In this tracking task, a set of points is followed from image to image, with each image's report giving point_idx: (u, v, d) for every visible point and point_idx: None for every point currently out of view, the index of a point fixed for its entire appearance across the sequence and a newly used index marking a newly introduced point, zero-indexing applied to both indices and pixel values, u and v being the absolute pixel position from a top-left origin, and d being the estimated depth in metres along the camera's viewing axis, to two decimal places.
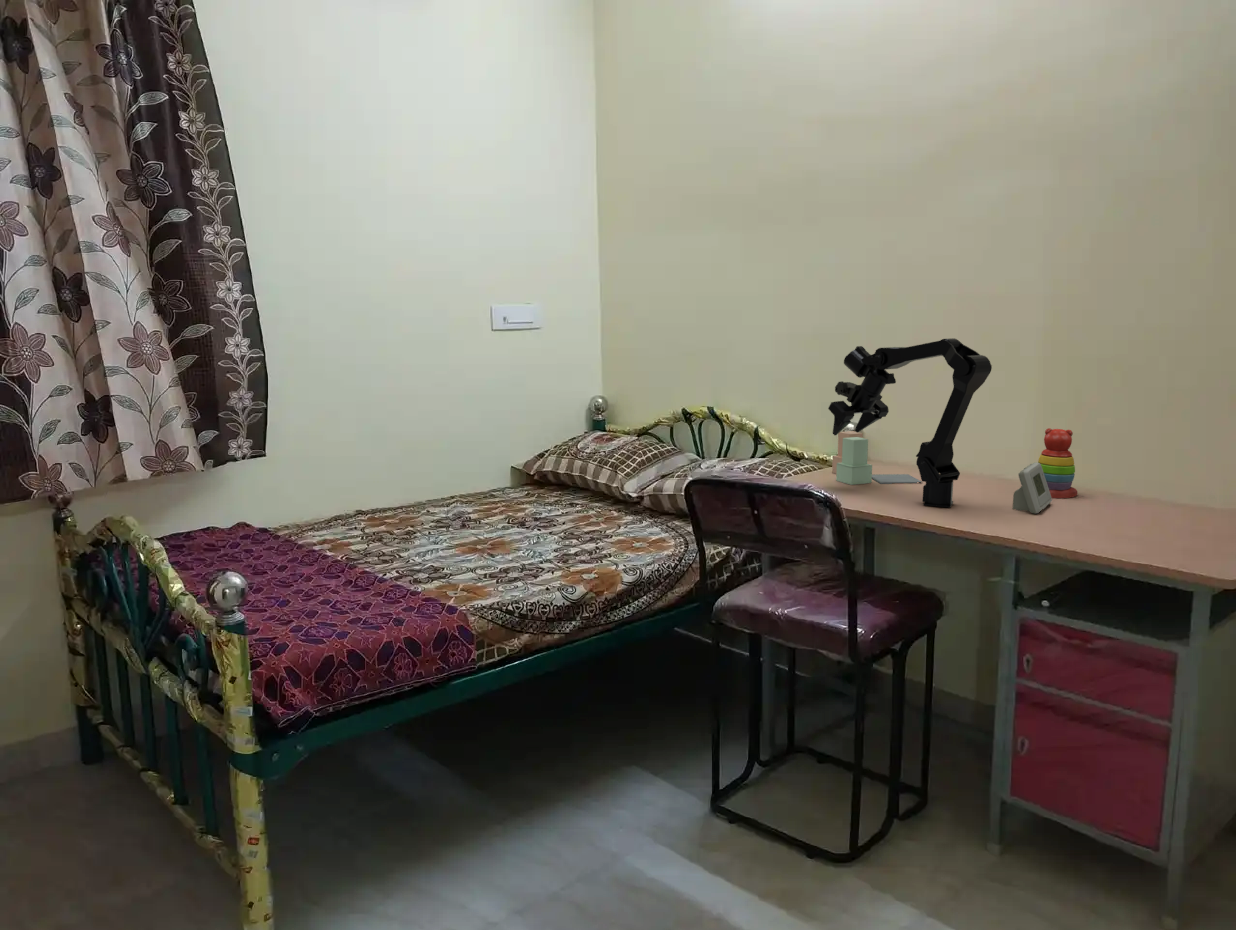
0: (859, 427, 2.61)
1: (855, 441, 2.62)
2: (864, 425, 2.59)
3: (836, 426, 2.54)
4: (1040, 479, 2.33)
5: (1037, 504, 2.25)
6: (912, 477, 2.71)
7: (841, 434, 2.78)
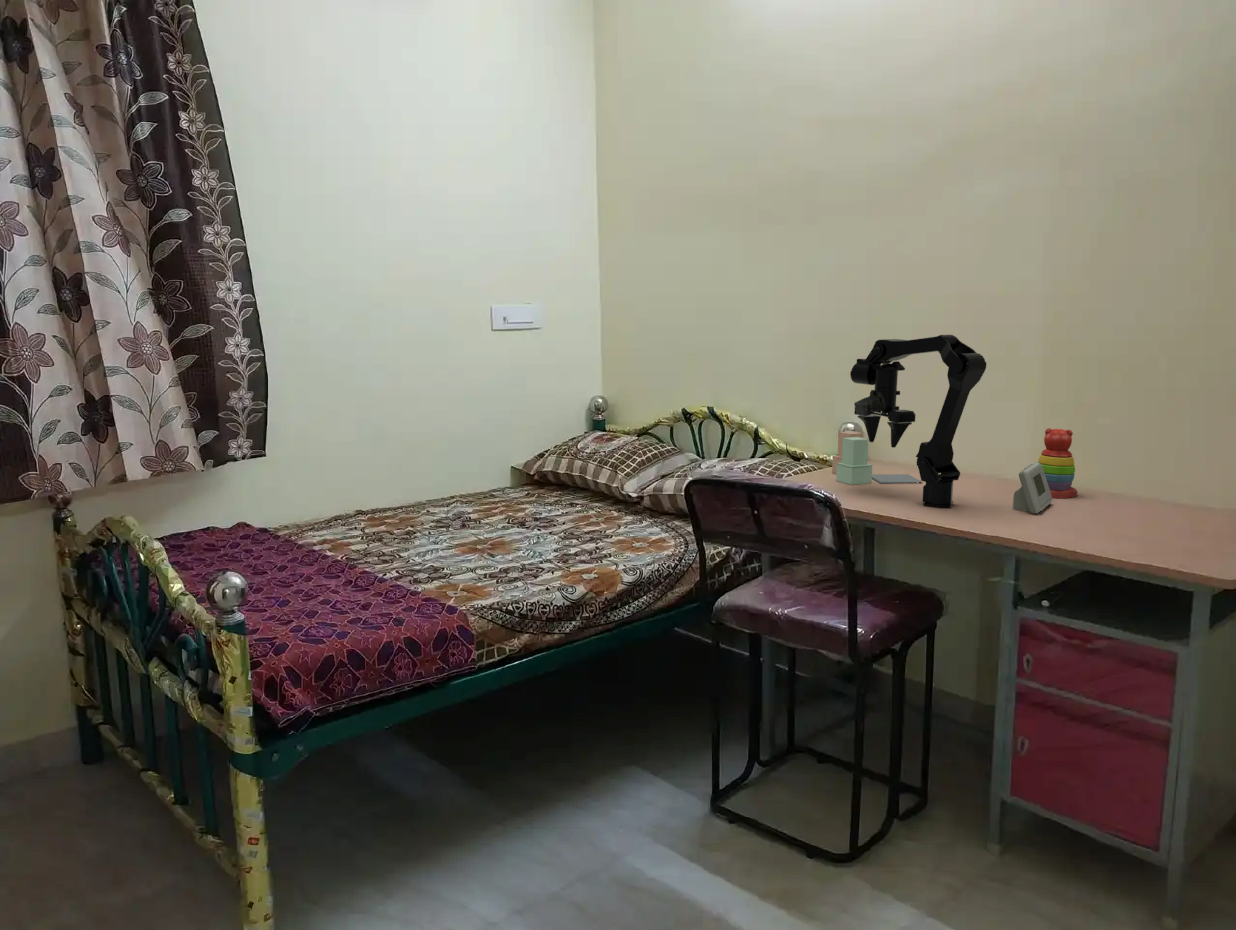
0: (873, 435, 2.54)
1: (855, 441, 2.62)
2: (875, 430, 2.55)
3: (896, 436, 2.45)
4: (1040, 479, 2.32)
5: (1037, 504, 2.25)
6: (912, 477, 2.71)
7: (841, 434, 2.78)
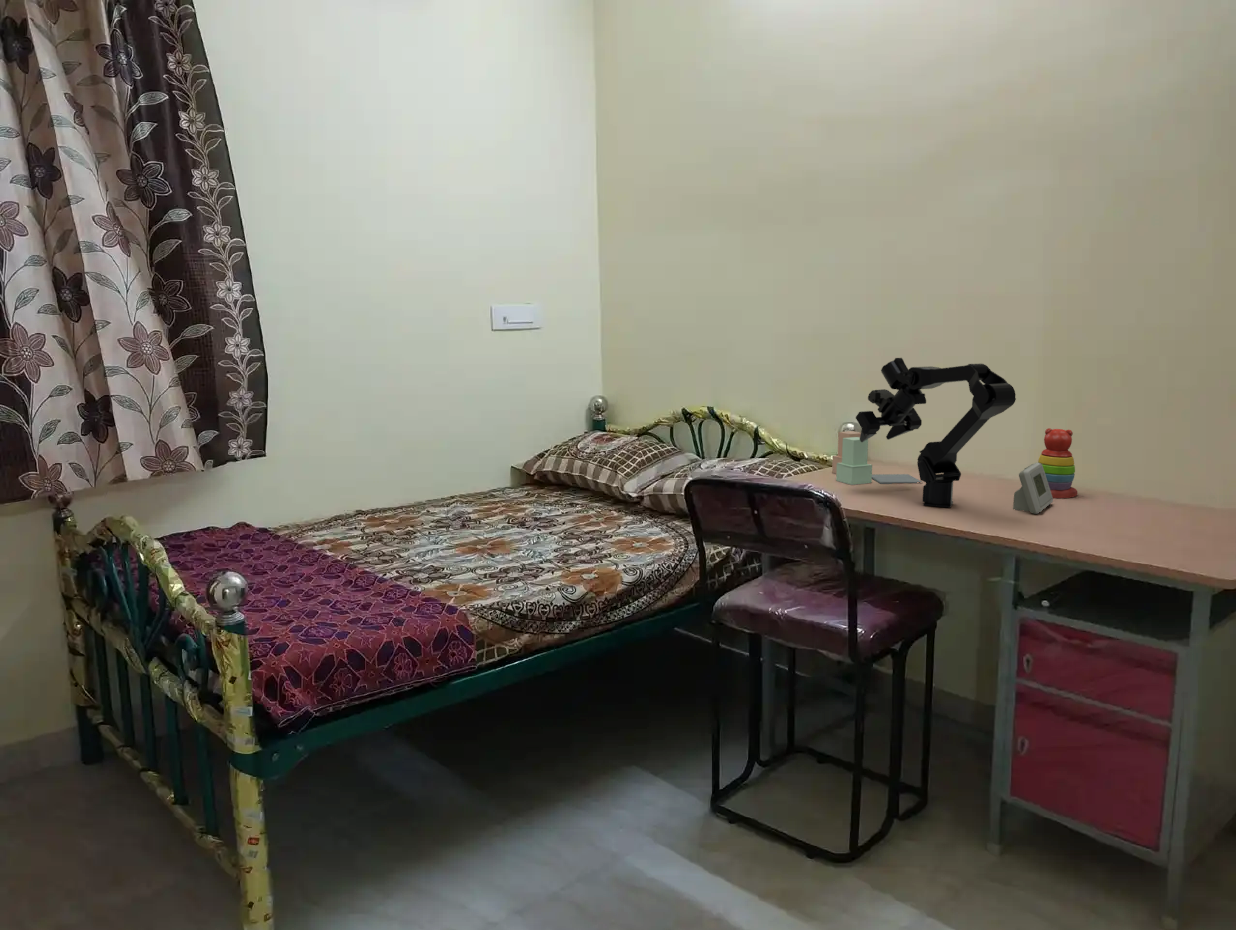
0: (890, 435, 2.58)
1: (855, 441, 2.62)
2: (895, 434, 2.57)
3: (863, 434, 2.53)
4: (1041, 479, 2.32)
5: (1037, 504, 2.25)
6: (912, 477, 2.71)
7: (841, 434, 2.78)
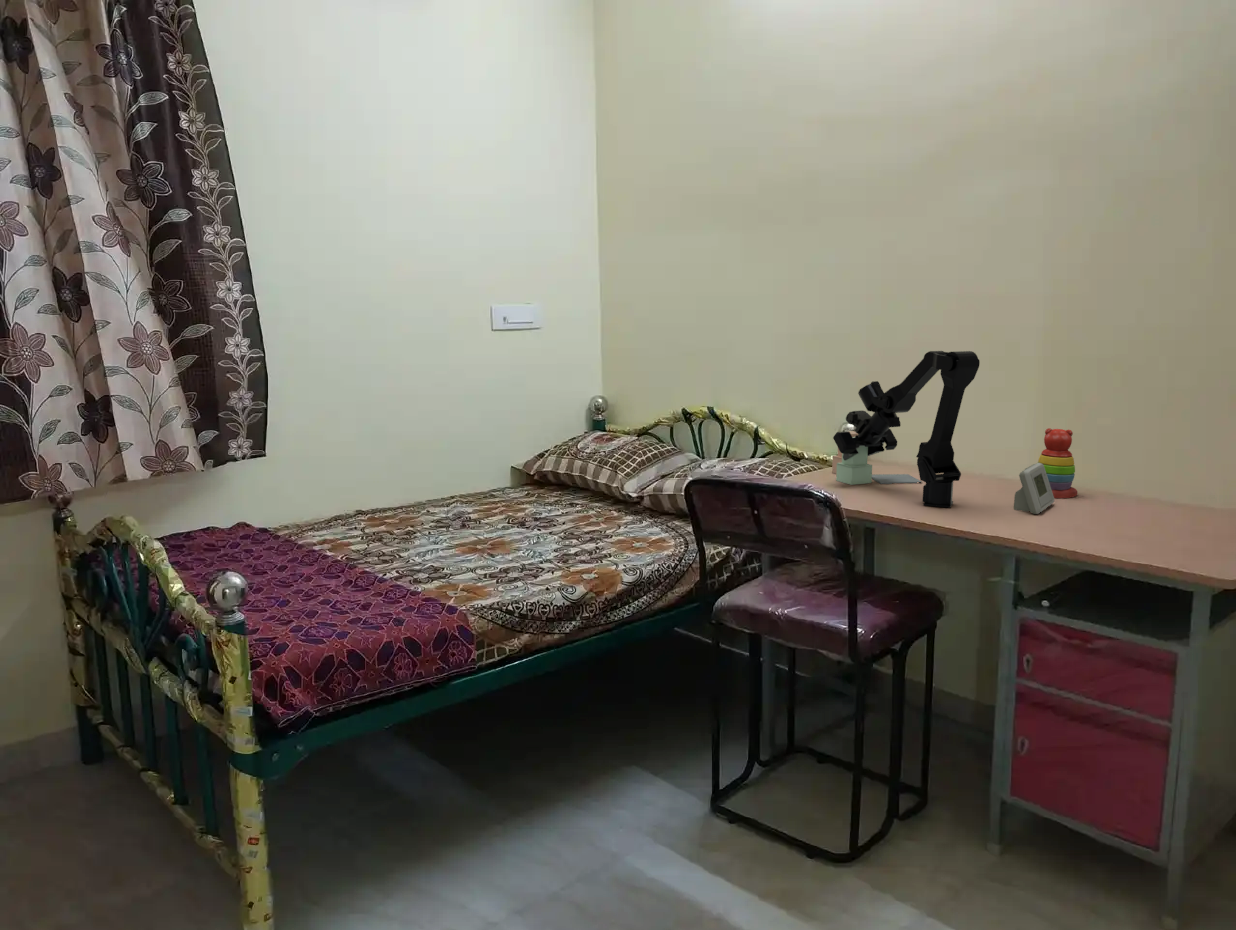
0: None
1: None
2: None
3: (846, 453, 2.64)
4: (1042, 479, 2.32)
5: (1038, 504, 2.24)
6: (912, 477, 2.71)
7: None
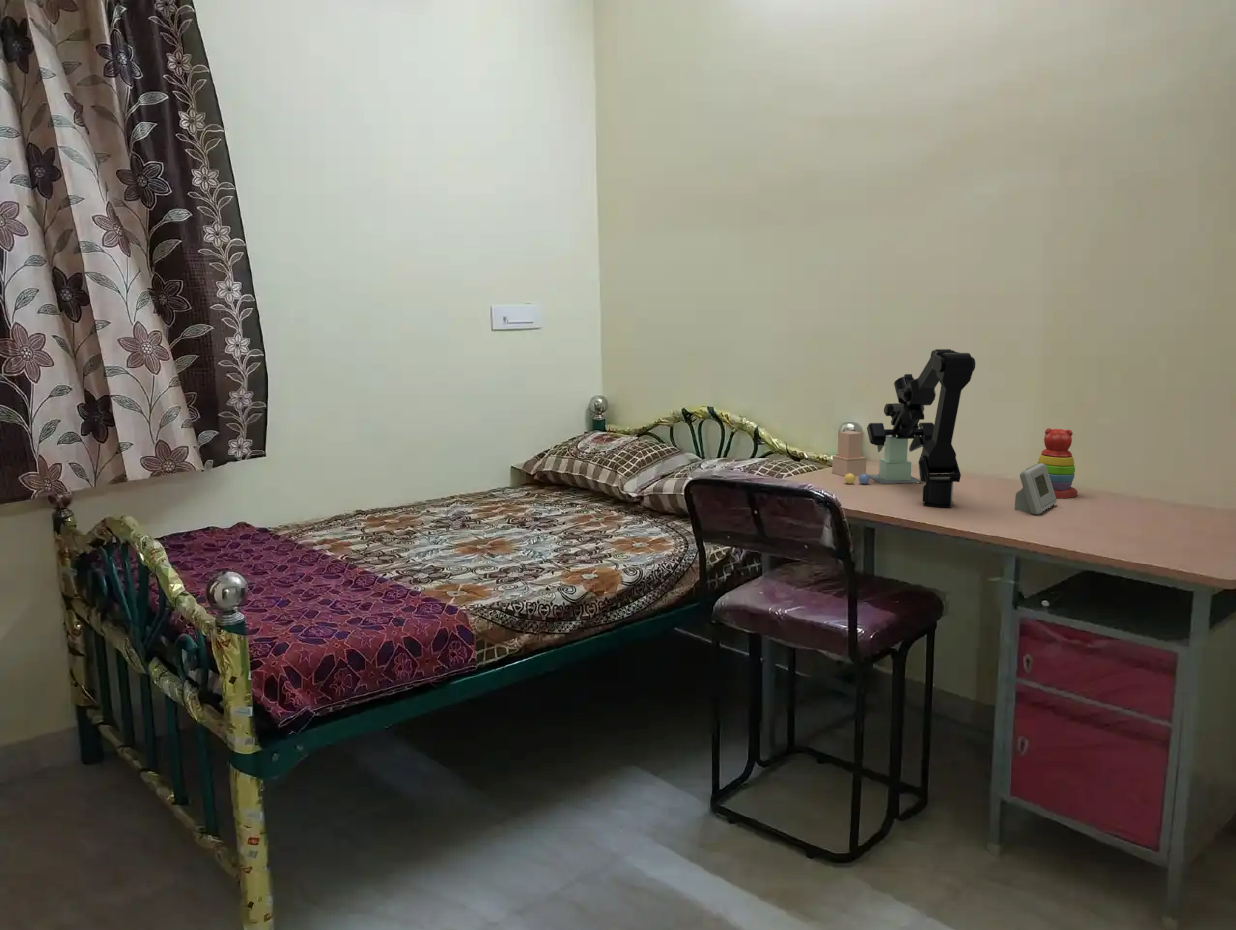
0: (911, 447, 2.69)
1: None
2: (914, 447, 2.67)
3: None
4: (1044, 480, 2.31)
5: (1038, 505, 2.24)
6: (912, 477, 2.71)
7: (841, 434, 2.78)
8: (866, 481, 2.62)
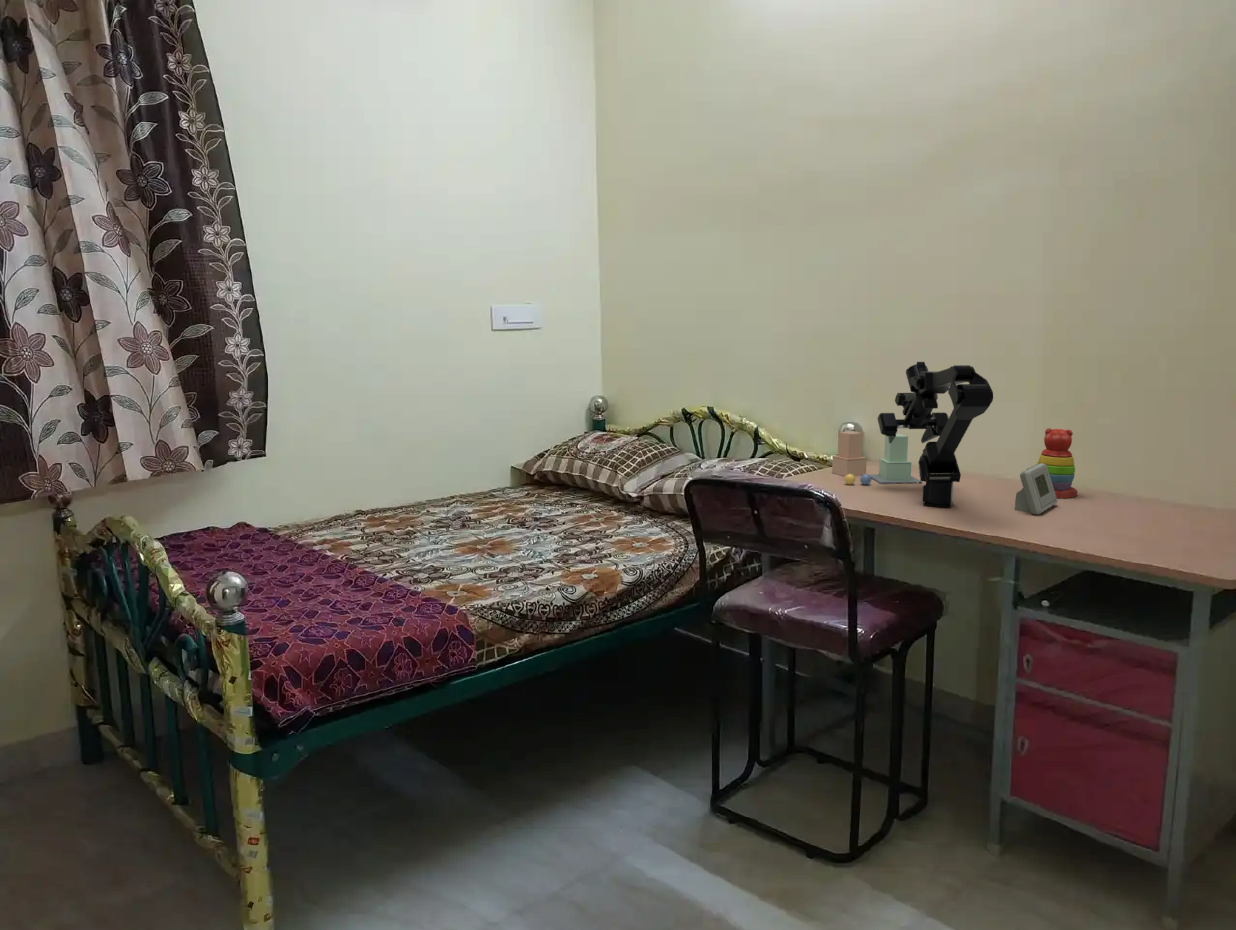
0: (923, 438, 2.59)
1: None
2: (926, 438, 2.57)
3: (888, 435, 2.58)
4: (1044, 480, 2.31)
5: (1038, 505, 2.24)
6: (912, 477, 2.71)
7: (841, 434, 2.78)
8: (866, 484, 2.62)
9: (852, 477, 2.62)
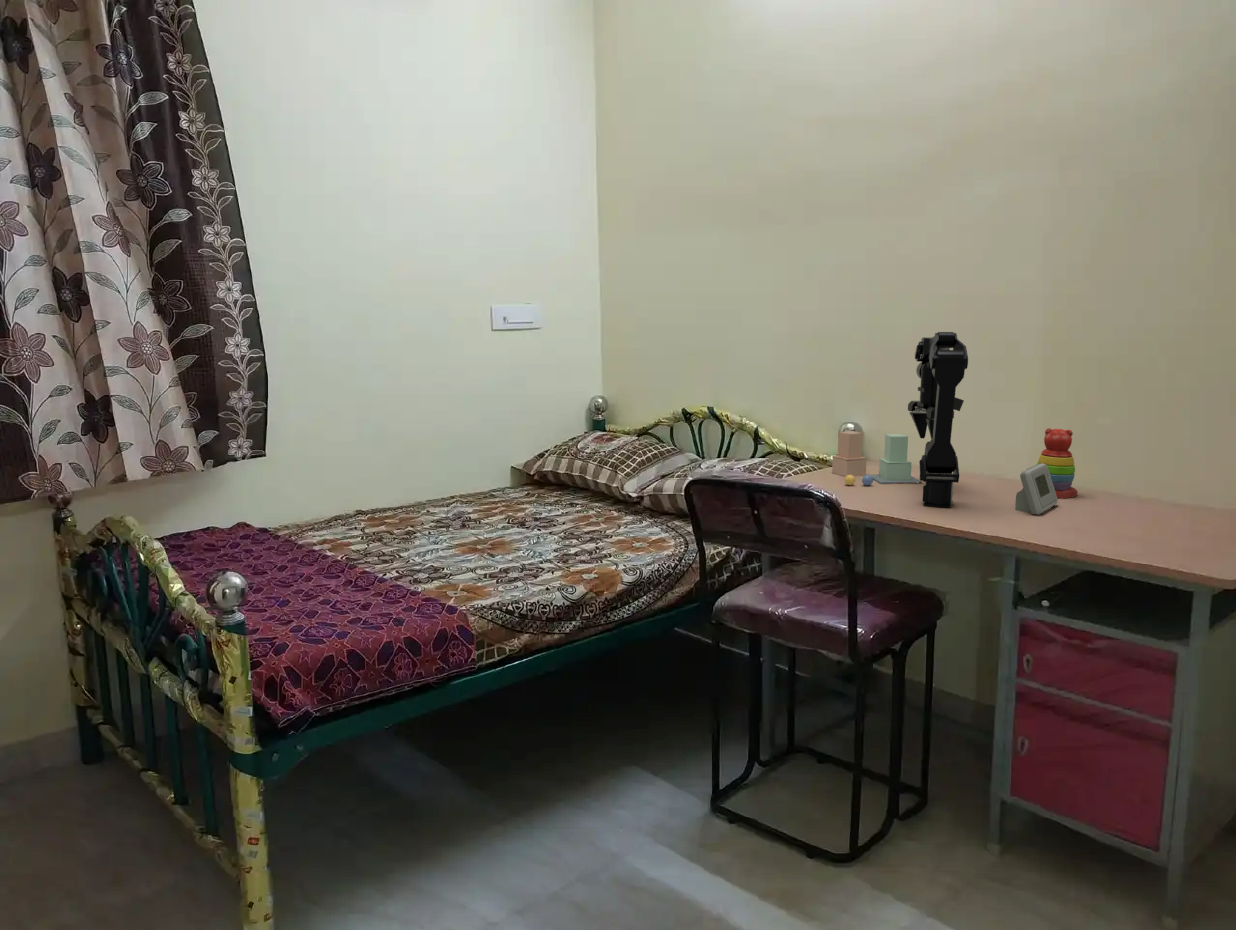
0: None
1: (892, 437, 2.65)
2: None
3: None
4: (1044, 480, 2.31)
5: (1038, 505, 2.24)
6: (912, 477, 2.71)
7: (841, 434, 2.78)
8: None
9: (852, 482, 2.61)
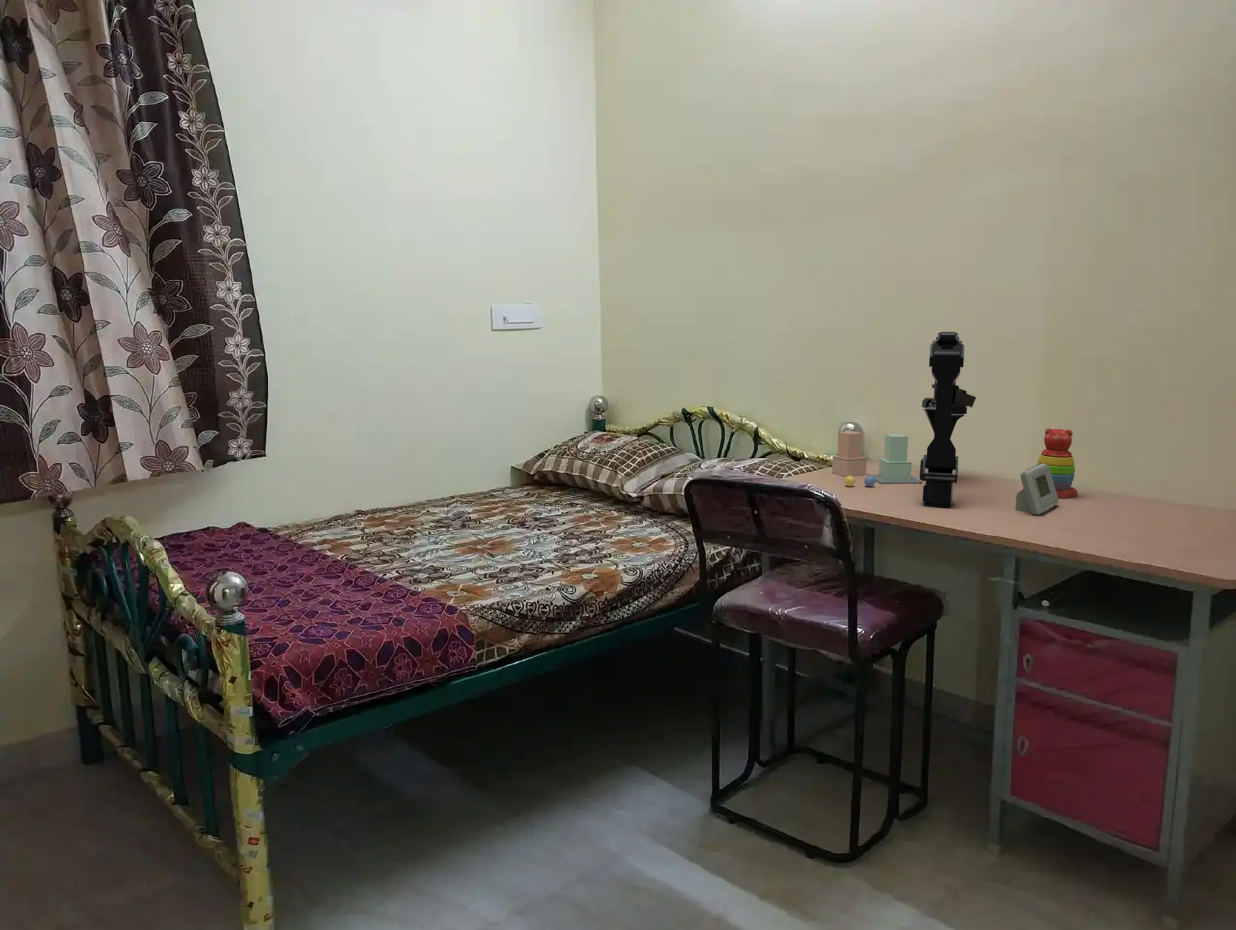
0: None
1: (892, 437, 2.65)
2: None
3: None
4: (1045, 480, 2.31)
5: (1038, 505, 2.23)
6: (912, 477, 2.71)
7: (841, 434, 2.78)
8: None
9: (852, 485, 2.60)
